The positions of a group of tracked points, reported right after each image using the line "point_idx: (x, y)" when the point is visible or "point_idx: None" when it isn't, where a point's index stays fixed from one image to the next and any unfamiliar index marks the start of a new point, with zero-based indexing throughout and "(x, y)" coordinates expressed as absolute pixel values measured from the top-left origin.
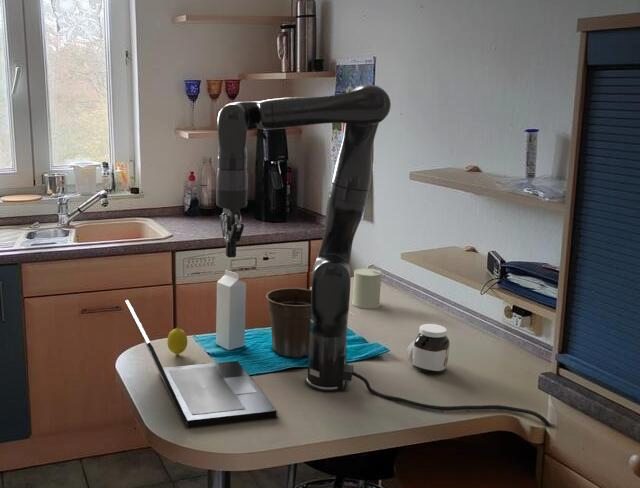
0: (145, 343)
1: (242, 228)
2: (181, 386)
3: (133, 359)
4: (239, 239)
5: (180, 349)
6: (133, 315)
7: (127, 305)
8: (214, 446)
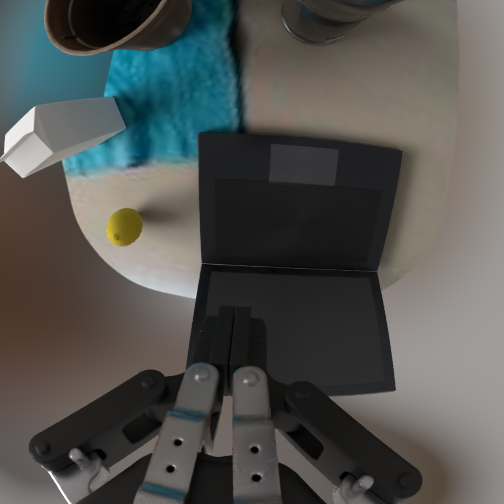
0: None
1: (411, 470)
2: (279, 253)
3: (144, 278)
4: (325, 397)
5: (141, 221)
6: None
7: None
8: (421, 250)
